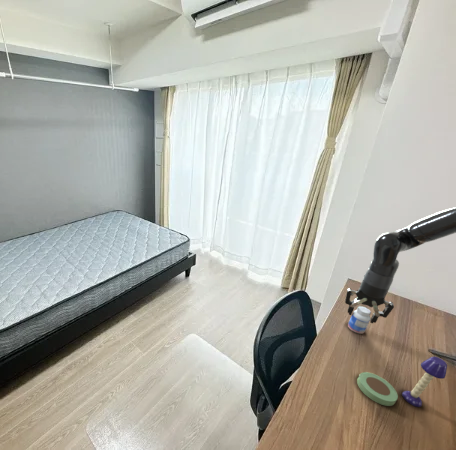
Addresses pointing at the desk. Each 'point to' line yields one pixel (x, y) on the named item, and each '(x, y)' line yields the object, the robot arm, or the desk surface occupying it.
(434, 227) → the robot arm
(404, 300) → the desk surface
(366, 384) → the coaster
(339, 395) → the desk surface
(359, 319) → the pill bottle
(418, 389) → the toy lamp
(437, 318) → the desk surface
